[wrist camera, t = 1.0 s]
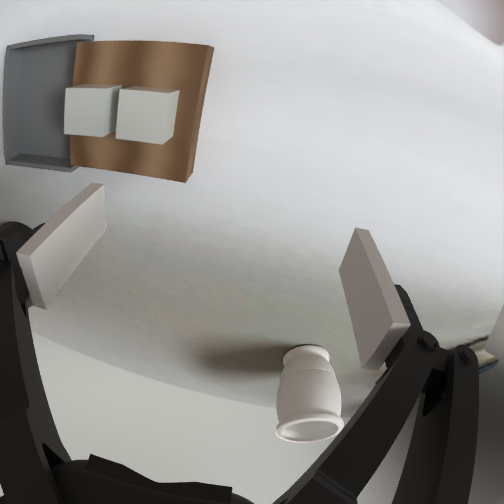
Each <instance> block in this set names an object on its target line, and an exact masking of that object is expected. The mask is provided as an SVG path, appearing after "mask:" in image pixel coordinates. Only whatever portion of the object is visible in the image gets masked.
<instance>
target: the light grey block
mask: <svg viewBox="0 0 504 504" xmlns="http://www.w3.org/2000/svg"><path fill="white" fill-rule="evenodd" d="M121 88H122V85H103V84H82V85H78V86H73V87H69V88H66V92H65V111H64V134H72V135H84V136H95V137H104V136H106V135H108V134H110V133H112V132H114V131H115V130H116V124H117V112H118V101H119V92H120V89H121Z"/></svg>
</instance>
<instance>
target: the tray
mask: <svg viewBox="0 0 504 504" xmlns="http://www.w3.org/2000/svg"><path fill="white" fill-rule="evenodd" d="M93 41H94V35H82V34H78V35H68V36H60V37H52V38H45V39H39V40H33V41H28V42H23V43H18V44H13V45H8V46H7V48H6V57H5V69H4V86H3V132H4V149H5V162H6V165H15V166H24V167H32V168H40V169H48V170H56V171H63V172H72V171H74V170H75V169H77V168H78V167H80V166H75V165H71V156H70V134H64V111H65V92H66V88H69V87H73V77H74V67H75V59H76V51H77V44H78V43H79V42H93Z"/></svg>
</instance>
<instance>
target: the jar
mask: <svg viewBox="0 0 504 504" xmlns="http://www.w3.org/2000/svg"><path fill="white" fill-rule="evenodd" d="M283 365H284V368H283V371H282V373H281V376H280V382H279V387H278V392H277V400H276V406H277V415H278V420H279V424H278V425H277V428H276V435H277V436H278V437H279V438H281V439H283V440H286V441H290V442H298V443H306V442H316V441H321V440H325V439H328V438H331V437H333V436H335V435H337V434H339V433H340V432H341V431H342V429H343V428H344V422H343V420H342V419H341V418H340V414H341V394H340V389H339V385H338V382H337V380H336V377H335V373H334V371H333V368H332V367H331V365H330V364H329V354H328V352H327V351H326V350H325V349H324V348H322V347H319V346H314V345H305V346H299V347H296V348H294V349H292V350H290V351H288V352H287V353H286V354H285V356H284V357H283Z"/></svg>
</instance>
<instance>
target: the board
mask: <svg viewBox="0 0 504 504" xmlns="http://www.w3.org/2000/svg"><path fill="white" fill-rule="evenodd" d="M213 52H214V47H211V46H208V45H199V44H189V43H177V42H161V41H95V42H79V43H78V44H77V51H76V59H75V67H74V77H73V86H78V85H82V84H103V85H122V88H121V89H123V88H127V87H132V86H142V87H155V88H165V89H175V90H180V91H179V98H178V104H177V111H176V118H175V125H174V133H173V137H171V138H170V139H169V140H168V141H166V142H165V143H164V144H163V145H161V144H154V143H147V142H140V141H132V140H123V139H116V130H115V131H114V132H112V133H110V134H108V135H106V136H104V137H95V136H84V135H72V134H70V156H71V165H75V166H82V167H90V168H97V169H104V170H111V171H118V172H124V173H131V174H137V175H143V176H149V177H155V178H161V179H167V180H173V181H178V182H184V183H186V181H187V180H188V178H189V177H190V175H191V174H192V173H193V167H194V160H195V153H196V146H197V140H198V133H199V127H200V121H201V115H202V109H203V104H204V98H205V92H206V87H207V82H208V77H209V71H210V66H211V61H212V57H213Z"/></svg>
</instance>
